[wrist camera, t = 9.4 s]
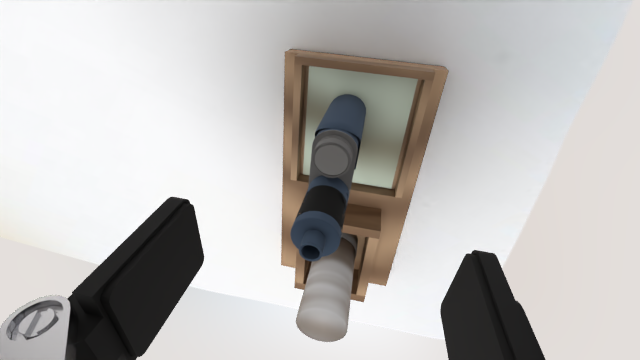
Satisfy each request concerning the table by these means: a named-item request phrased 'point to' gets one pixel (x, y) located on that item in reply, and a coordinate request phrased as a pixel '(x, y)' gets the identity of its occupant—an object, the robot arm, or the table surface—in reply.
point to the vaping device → (329, 178)
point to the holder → (368, 179)
